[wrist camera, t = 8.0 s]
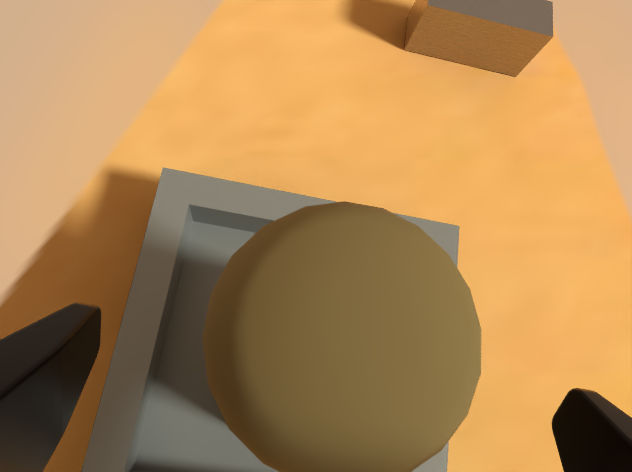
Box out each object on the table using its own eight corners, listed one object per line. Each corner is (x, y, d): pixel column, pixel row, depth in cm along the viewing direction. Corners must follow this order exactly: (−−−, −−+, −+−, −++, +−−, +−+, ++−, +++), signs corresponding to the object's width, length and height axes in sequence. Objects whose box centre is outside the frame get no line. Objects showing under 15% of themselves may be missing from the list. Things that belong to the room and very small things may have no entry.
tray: (413, 538, 17) (442, 563, 15) (91, 501, 16) (67, 522, 14) (433, 243, 21) (459, 225, 19) (171, 193, 20) (163, 167, 17)
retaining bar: (515, 76, 24) (552, 36, 22) (404, 49, 24) (427, 4, 21) (516, 44, 25) (552, 1, 22) (407, 17, 24) (430, -30, 22)
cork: (170, 381, 17) (74, 380, 7) (269, 249, 19) (314, 91, 9) (309, 481, 17) (434, 642, 6) (394, 337, 19) (594, 284, 8)
